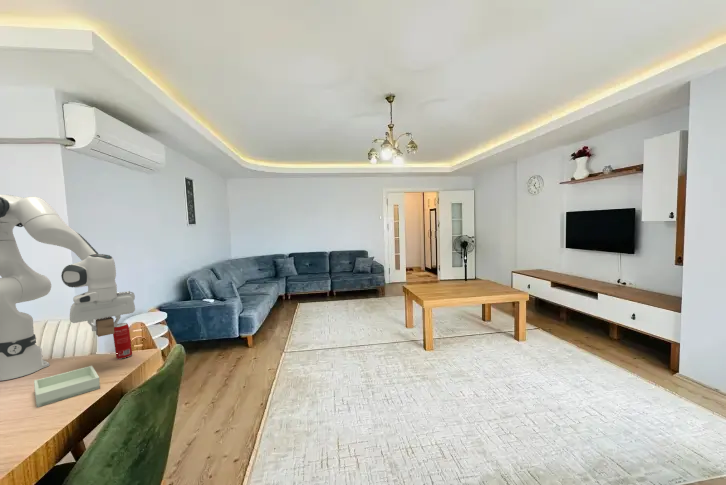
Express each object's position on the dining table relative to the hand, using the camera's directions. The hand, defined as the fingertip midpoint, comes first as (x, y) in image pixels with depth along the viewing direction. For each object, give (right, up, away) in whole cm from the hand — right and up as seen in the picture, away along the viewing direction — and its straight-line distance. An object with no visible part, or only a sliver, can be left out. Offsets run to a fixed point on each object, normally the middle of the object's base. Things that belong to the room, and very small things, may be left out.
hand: (104, 328), depth 126 cm
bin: (-1, -18, -15) cm, 23 cm away
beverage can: (-3, -17, +14) cm, 22 cm away
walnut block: (0, -2, 0) cm, 2 cm away
